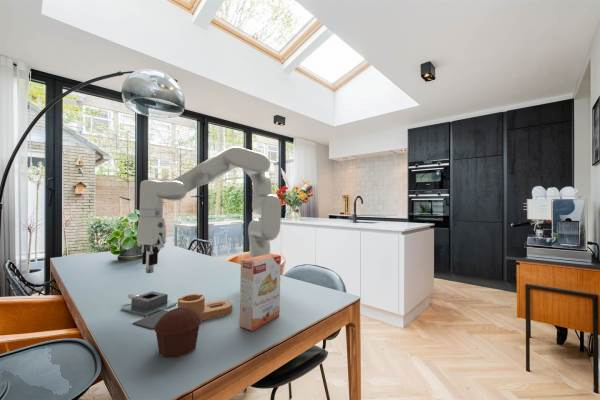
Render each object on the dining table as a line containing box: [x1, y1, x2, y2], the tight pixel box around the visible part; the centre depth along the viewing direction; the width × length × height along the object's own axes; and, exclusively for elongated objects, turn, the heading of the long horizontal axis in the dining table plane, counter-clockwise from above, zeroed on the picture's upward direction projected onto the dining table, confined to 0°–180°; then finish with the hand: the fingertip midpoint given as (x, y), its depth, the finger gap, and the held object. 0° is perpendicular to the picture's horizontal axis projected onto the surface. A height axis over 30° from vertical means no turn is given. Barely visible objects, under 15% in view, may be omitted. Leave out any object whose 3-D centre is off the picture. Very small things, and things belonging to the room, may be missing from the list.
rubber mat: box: [132, 310, 170, 330], centre depth 87 cm, size 9×11×1 cm
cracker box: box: [238, 253, 282, 332], centre depth 87 cm, size 14×6×21 cm, turn 148°
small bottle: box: [144, 245, 155, 274], centre depth 98 cm, size 3×3×10 cm
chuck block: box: [120, 290, 178, 317], centre depth 98 cm, size 18×12×4 cm, turn 66°
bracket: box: [177, 293, 233, 321], centre depth 92 cm, size 18×8×7 cm, turn 126°
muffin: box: [153, 307, 203, 359], centre depth 70 cm, size 12×11×10 cm
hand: (149, 263), depth 98 cm, fingers closed on small bottle, 2 cm apart
